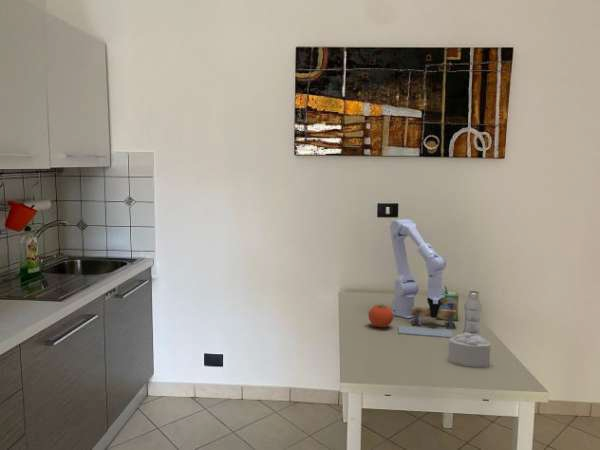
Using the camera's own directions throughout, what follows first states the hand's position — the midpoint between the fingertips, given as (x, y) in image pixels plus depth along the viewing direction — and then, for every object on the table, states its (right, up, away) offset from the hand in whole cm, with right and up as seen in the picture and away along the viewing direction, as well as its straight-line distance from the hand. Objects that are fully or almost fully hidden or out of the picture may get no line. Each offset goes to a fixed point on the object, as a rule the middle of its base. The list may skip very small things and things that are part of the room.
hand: (433, 316), depth 204 cm
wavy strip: (0, 0, 0) cm, 0 cm away
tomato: (-23, -4, -3) cm, 24 cm away
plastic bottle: (+8, -6, -22) cm, 24 cm away
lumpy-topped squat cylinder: (+1, -8, -39) cm, 40 cm away
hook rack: (0, -4, 0) cm, 4 cm away
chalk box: (+9, -3, +12) cm, 16 cm away
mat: (-6, -5, -10) cm, 12 cm away
